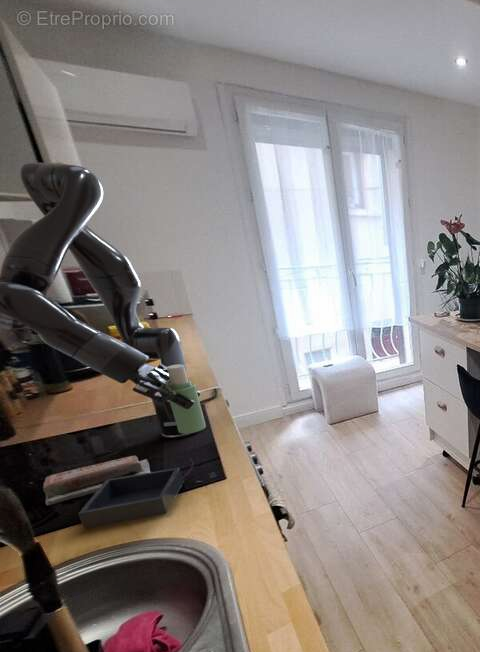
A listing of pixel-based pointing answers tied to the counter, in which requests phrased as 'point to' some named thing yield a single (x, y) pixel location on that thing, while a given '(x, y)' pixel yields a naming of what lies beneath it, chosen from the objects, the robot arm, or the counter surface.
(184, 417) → the bottle
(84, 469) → the packaged product
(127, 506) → the tray
